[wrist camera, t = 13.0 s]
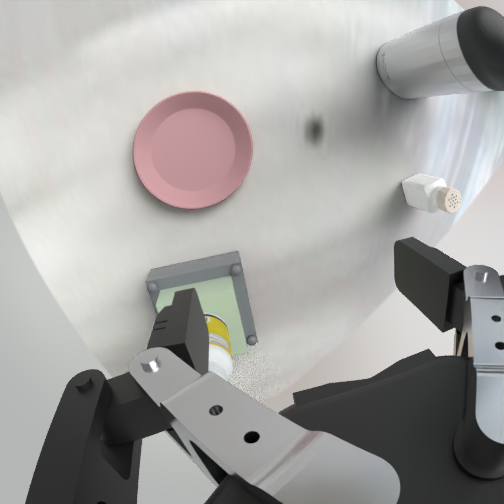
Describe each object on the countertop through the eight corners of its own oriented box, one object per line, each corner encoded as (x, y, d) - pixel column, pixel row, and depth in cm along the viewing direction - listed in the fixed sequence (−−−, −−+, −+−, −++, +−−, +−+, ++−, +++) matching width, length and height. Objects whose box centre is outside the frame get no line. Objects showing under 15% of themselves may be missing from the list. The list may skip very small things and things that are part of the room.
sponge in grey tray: (238, 250, 42) (244, 274, 34) (253, 326, 46) (262, 359, 38) (150, 269, 41) (139, 296, 33) (175, 341, 45) (171, 376, 38)
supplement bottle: (213, 355, 37) (216, 413, 28) (174, 336, 36) (166, 393, 26) (237, 324, 36) (247, 380, 27) (197, 302, 35) (194, 356, 25)
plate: (165, 77, 33) (163, 74, 31) (269, 122, 37) (272, 120, 35) (120, 181, 37) (115, 183, 35) (221, 223, 40) (222, 227, 39)
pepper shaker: (399, 180, 41) (439, 191, 32) (419, 171, 41) (460, 181, 32) (405, 205, 43) (445, 221, 34) (424, 195, 43) (465, 209, 34)
